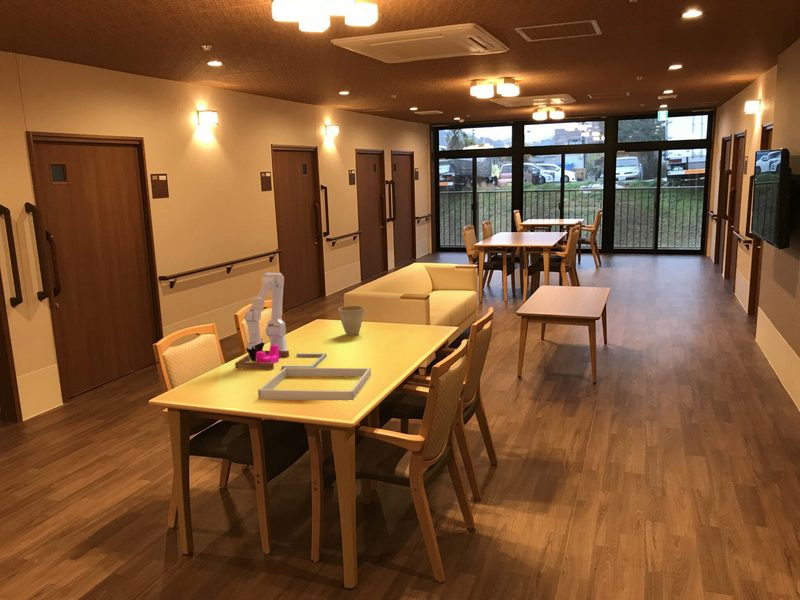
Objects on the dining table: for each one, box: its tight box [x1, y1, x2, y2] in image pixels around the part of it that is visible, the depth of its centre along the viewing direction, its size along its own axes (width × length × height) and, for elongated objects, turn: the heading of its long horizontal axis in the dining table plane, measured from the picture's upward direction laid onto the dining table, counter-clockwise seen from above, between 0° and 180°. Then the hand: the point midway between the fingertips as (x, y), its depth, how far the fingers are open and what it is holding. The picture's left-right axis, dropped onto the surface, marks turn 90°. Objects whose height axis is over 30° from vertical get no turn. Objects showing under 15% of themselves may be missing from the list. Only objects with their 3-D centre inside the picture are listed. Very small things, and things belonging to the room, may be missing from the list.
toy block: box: [256, 345, 280, 365], centre depth 330 cm, size 15×6×8 cm, turn 159°
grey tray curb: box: [257, 367, 372, 402], centre depth 287 cm, size 33×42×4 cm
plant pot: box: [338, 305, 365, 336], centre depth 381 cm, size 15×15×16 cm
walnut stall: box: [234, 350, 290, 370], centre depth 331 cm, size 23×20×3 cm
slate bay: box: [280, 352, 328, 370], centre depth 327 cm, size 23×16×2 cm
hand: (256, 358), depth 332 cm, fingers open, 7 cm apart
